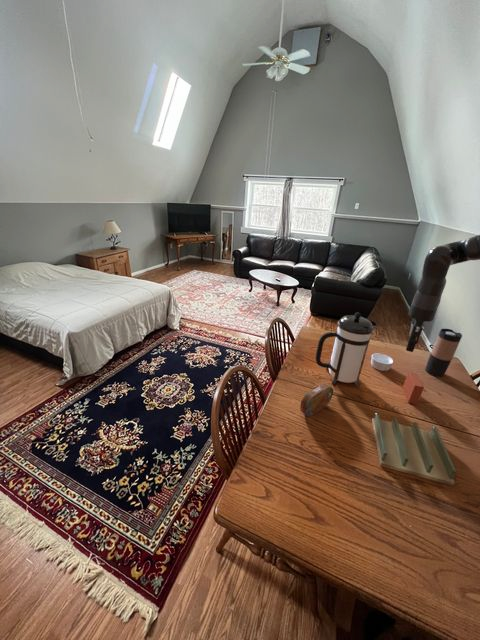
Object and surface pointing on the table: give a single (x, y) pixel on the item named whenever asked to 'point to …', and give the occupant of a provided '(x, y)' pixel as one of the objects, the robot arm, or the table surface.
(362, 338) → the coffee press
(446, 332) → the travel mug
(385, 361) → the ramekin
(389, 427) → the rack
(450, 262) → the robot arm
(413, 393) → the block
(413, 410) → the table surface
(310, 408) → the brown flat oval slab
